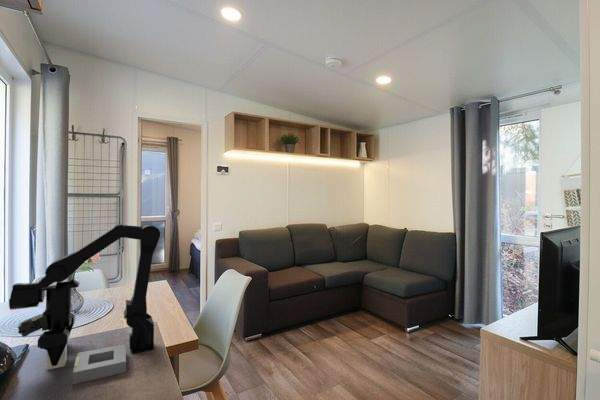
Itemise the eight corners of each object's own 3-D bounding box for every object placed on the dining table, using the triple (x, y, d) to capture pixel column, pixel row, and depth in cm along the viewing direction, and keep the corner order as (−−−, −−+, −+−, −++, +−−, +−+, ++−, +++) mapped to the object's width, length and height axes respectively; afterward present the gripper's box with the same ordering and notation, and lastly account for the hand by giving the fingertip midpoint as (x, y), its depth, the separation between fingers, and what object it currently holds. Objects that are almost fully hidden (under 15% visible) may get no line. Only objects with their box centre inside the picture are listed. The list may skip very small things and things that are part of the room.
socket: (124, 353, 96) (125, 343, 96) (125, 372, 86) (126, 360, 86) (77, 363, 90) (77, 352, 90) (72, 384, 80) (72, 371, 80)
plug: (66, 359, 92) (67, 336, 92) (64, 366, 88) (65, 341, 89) (49, 363, 90) (49, 339, 90) (46, 370, 86) (47, 344, 86)
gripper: (30, 299, 93) (28, 351, 93) (12, 319, 77) (10, 382, 77) (75, 294, 99) (74, 343, 99) (67, 312, 83) (66, 370, 83)
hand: (57, 358), depth 89 cm, fingers open, 9 cm apart
